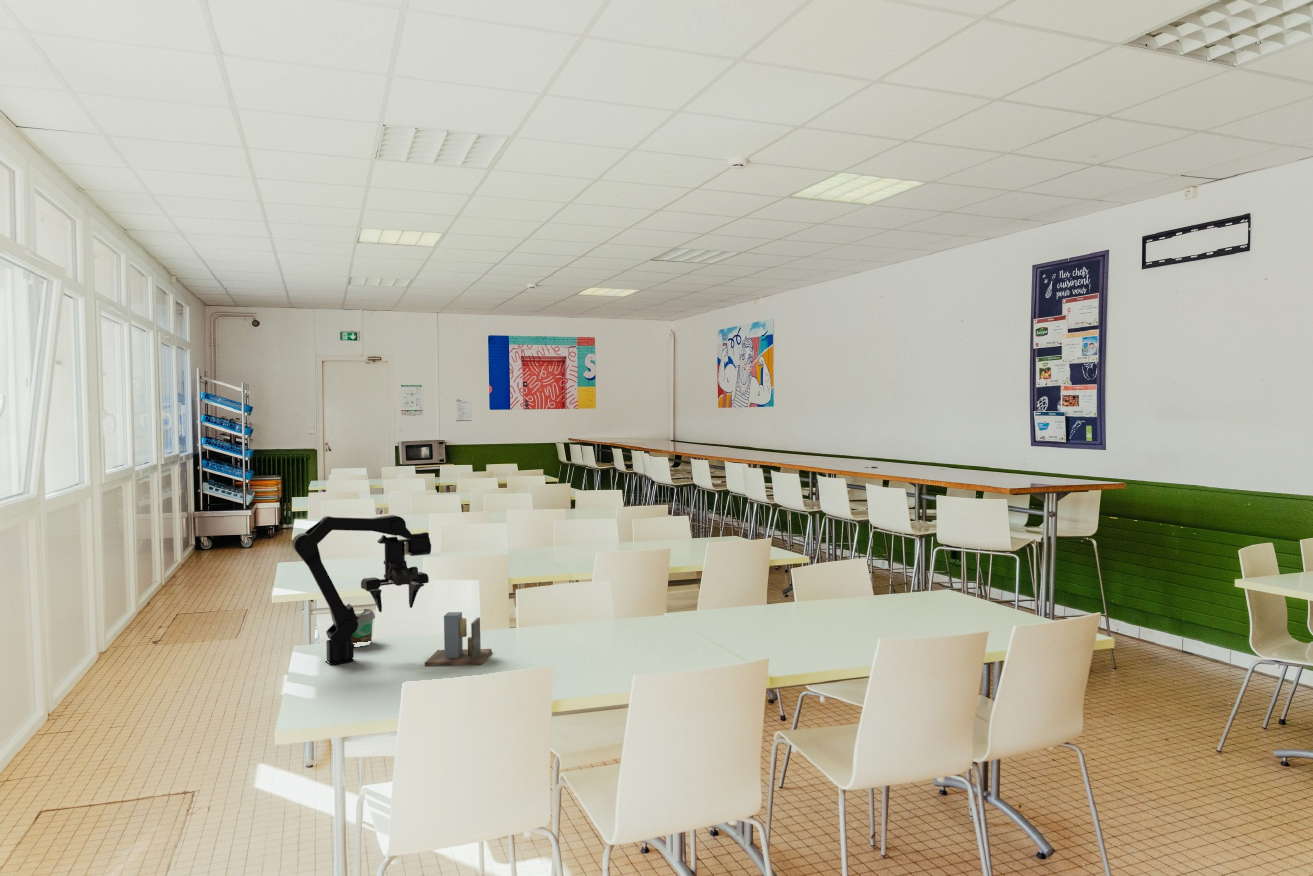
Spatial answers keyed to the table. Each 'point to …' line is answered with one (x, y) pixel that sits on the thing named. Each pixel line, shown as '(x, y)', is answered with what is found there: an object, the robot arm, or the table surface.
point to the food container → (364, 627)
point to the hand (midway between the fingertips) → (395, 609)
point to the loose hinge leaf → (454, 634)
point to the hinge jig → (464, 651)
